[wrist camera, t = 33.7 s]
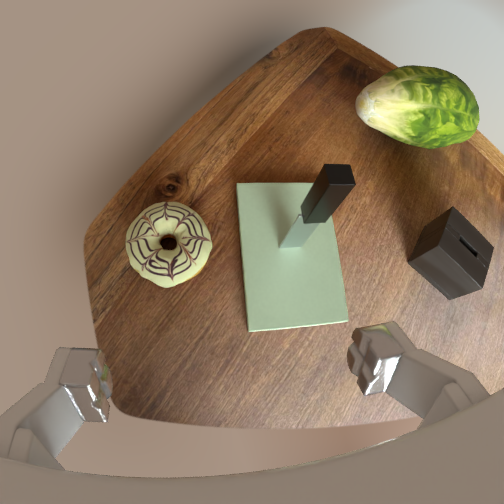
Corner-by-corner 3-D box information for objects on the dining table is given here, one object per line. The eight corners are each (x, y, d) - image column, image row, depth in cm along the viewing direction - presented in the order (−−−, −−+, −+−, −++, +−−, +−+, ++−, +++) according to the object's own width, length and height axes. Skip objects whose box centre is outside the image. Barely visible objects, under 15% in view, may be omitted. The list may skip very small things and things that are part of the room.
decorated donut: (173, 305, 39) (169, 300, 36) (115, 251, 40) (107, 242, 37) (226, 245, 42) (228, 235, 39) (168, 197, 44) (164, 184, 40)
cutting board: (345, 321, 41) (348, 320, 40) (247, 332, 39) (248, 331, 38) (322, 186, 47) (325, 182, 46) (235, 187, 45) (236, 183, 44)
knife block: (449, 300, 44) (482, 288, 37) (407, 263, 45) (437, 245, 38) (463, 262, 47) (494, 247, 39) (424, 226, 48) (452, 205, 40)
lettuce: (328, 102, 53) (357, 39, 39) (428, 105, 59) (462, 60, 44) (361, 169, 49) (406, 108, 35) (461, 160, 54) (505, 118, 40)
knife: (302, 253, 42) (359, 184, 25) (280, 254, 42) (326, 184, 25) (300, 238, 43) (353, 164, 26) (278, 240, 42) (320, 163, 25)
